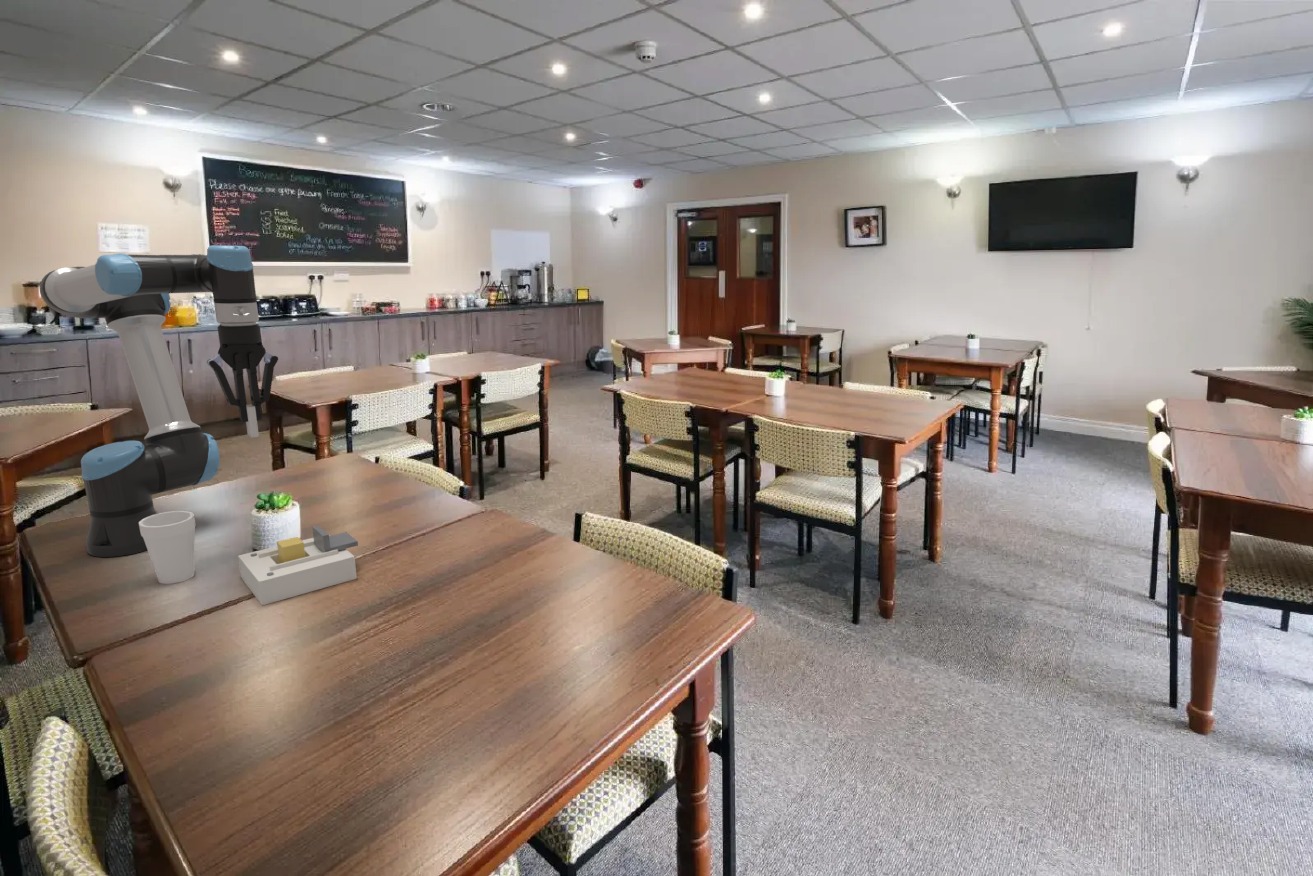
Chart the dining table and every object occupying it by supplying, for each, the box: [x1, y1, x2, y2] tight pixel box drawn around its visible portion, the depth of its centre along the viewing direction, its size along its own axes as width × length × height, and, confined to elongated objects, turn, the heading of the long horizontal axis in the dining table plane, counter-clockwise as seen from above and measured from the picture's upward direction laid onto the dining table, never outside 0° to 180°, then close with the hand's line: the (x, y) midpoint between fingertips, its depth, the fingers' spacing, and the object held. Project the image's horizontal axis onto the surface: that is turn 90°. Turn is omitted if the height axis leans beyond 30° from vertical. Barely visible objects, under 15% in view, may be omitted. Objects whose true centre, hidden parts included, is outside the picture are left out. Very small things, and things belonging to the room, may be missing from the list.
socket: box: [237, 534, 357, 606], centre depth 148 cm, size 16×18×6 cm
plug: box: [276, 536, 305, 563], centre depth 146 cm, size 4×4×8 cm
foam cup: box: [139, 510, 197, 585], centre depth 146 cm, size 10×9×13 cm
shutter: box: [311, 525, 359, 553], centre depth 152 cm, size 7×7×4 cm
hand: (253, 435), depth 150 cm, fingers closed
